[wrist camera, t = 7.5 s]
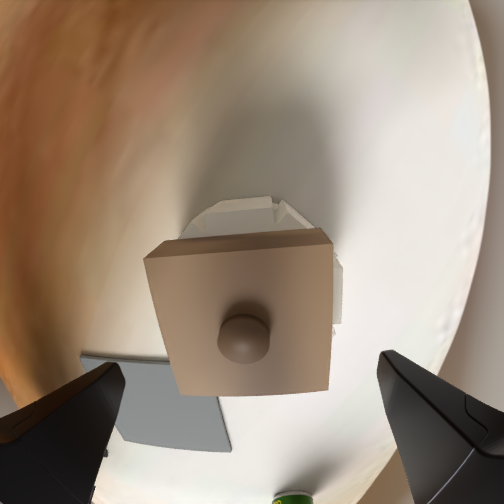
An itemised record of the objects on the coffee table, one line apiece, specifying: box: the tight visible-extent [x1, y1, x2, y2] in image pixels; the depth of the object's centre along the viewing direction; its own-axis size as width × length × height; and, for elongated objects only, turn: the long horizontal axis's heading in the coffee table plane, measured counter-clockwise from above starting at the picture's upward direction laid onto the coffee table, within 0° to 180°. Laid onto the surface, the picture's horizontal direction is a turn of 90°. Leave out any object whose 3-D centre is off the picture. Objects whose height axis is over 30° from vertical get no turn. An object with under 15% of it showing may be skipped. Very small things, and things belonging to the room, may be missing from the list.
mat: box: [79, 355, 232, 452], centre depth 22 cm, size 12×12×1 cm
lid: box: [143, 228, 333, 396], centre depth 12 cm, size 7×7×3 cm
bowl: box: [178, 196, 343, 337], centre depth 16 cm, size 9×9×4 cm
